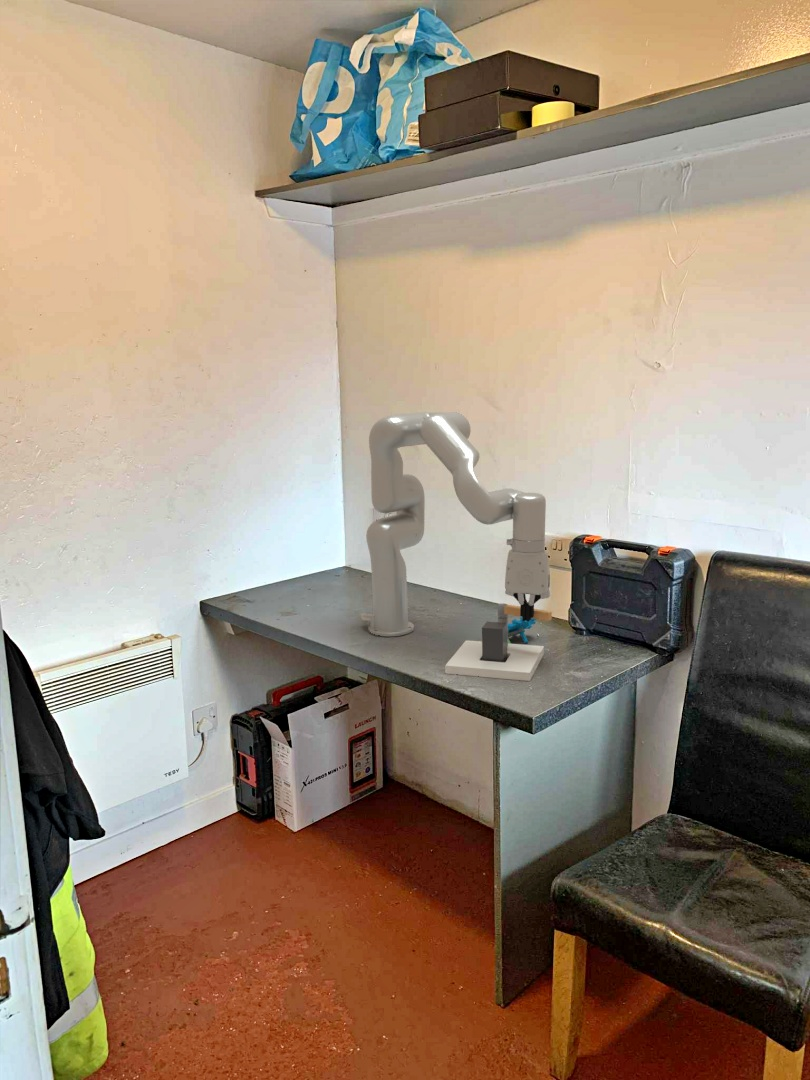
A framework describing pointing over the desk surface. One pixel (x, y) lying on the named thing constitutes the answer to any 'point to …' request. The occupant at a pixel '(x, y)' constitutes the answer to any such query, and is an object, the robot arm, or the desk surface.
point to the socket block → (516, 667)
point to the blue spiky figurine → (519, 628)
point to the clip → (515, 610)
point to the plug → (494, 642)
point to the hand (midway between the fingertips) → (526, 619)
